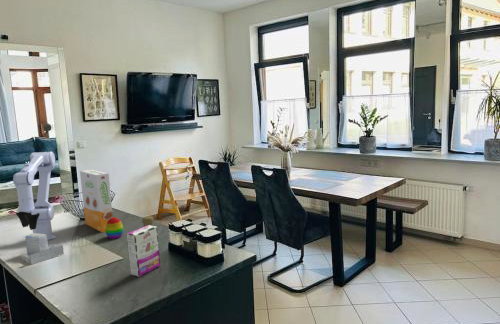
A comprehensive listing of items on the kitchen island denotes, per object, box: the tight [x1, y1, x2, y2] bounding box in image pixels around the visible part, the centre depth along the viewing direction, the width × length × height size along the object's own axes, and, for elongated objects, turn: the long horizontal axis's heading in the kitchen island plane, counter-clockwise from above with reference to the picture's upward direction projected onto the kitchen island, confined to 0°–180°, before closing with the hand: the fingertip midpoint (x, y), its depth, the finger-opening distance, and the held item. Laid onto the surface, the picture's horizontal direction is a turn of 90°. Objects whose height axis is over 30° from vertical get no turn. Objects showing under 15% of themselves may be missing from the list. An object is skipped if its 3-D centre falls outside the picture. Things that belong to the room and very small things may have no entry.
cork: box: [141, 215, 154, 227], centre depth 176 cm, size 6×6×11 cm
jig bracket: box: [20, 244, 65, 266], centre depth 160 cm, size 12×13×4 cm
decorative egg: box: [105, 216, 124, 240], centre depth 181 cm, size 8×8×10 cm
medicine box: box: [24, 232, 49, 255], centre depth 162 cm, size 8×4×9 cm, turn 71°
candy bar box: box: [126, 225, 161, 278], centre depth 141 cm, size 11×5×16 cm, turn 148°
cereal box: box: [79, 169, 113, 233], centre depth 197 cm, size 22×6×30 cm, turn 44°
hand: (29, 228), depth 167 cm, fingers open, 7 cm apart
